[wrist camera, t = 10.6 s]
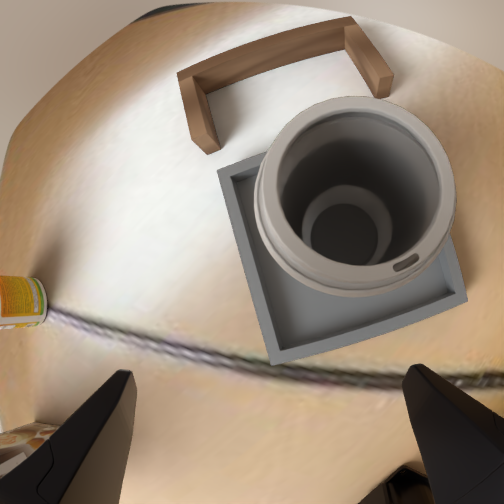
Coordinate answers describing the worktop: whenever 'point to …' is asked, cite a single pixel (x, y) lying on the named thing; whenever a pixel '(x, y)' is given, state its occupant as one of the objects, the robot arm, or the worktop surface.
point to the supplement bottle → (21, 302)
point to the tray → (318, 303)
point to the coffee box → (22, 444)
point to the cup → (355, 197)
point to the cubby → (273, 56)
